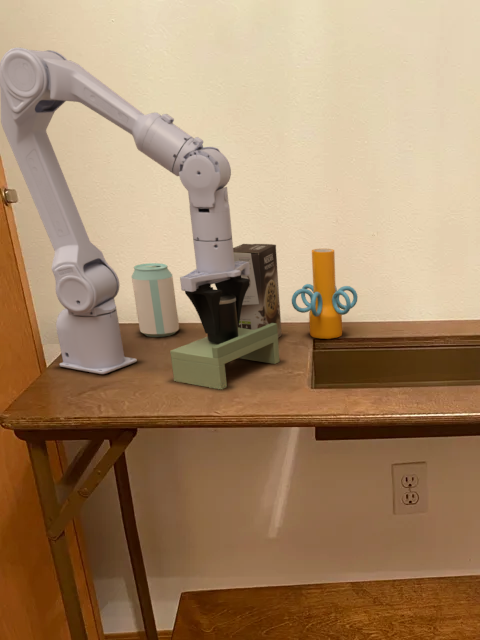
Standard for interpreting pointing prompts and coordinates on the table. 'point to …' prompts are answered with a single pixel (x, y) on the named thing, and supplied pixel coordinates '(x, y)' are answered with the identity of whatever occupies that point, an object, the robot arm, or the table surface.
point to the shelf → (223, 356)
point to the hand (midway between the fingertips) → (222, 329)
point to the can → (155, 300)
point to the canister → (226, 320)
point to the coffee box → (260, 286)
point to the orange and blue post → (324, 297)
